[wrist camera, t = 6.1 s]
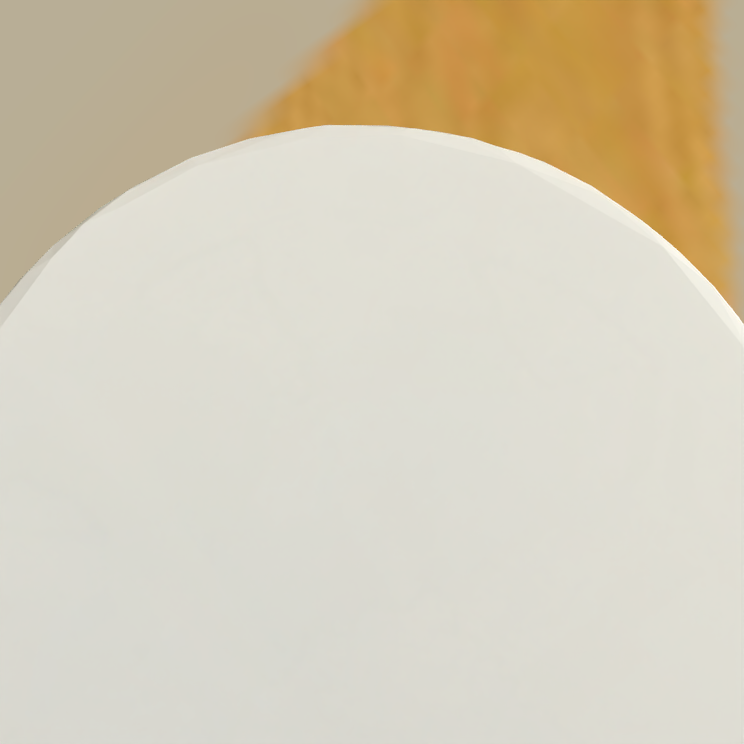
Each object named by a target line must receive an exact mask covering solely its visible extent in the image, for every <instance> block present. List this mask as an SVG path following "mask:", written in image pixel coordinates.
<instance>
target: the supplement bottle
mask: <svg viewBox="0 0 744 744" xmlns="http://www.w3.org/2000/svg"><path fill="white" fill-rule="evenodd" d="M0 744H744V324H743V323H742V321H741V320H740V318H739V317H738V316H737V315H736V313H735V312H734V311H733V310H732V308H731V307H730V306H729V305H728V303H727V302H726V301H725V300H724V298H723V297H722V296H721V295H720V294H719V292H718V291H717V290H716V289H715V287H714V286H713V285H712V284H711V283H710V282H709V281H708V280H707V279H706V278H705V277H704V276H703V275H702V274H701V273H700V272H699V271H698V270H697V269H696V268H695V267H694V266H693V265H692V264H691V263H690V262H689V261H688V260H687V259H686V258H685V257H684V256H683V255H682V254H681V253H680V252H679V251H678V250H677V249H675V248H674V247H673V246H672V245H671V244H670V243H669V242H668V241H666V240H665V239H664V238H663V237H662V236H661V235H659V234H658V233H657V232H656V231H654V230H653V229H652V228H650V227H649V226H648V225H647V224H645V223H644V222H643V221H642V220H640V219H639V218H637V217H636V216H635V215H633V214H632V213H630V212H629V211H628V210H626V209H625V208H623V207H622V206H620V205H619V204H617V203H616V202H614V201H613V200H611V199H610V198H608V197H607V196H605V195H604V194H602V193H601V192H599V191H598V190H597V189H595V188H594V187H592V186H591V185H589V184H587V183H585V182H583V181H581V180H579V179H577V178H575V177H573V176H571V175H569V174H567V173H565V172H563V171H561V170H559V169H557V168H555V167H553V166H551V165H549V164H547V163H545V162H542V161H540V160H537V159H534V158H532V157H529V156H526V155H524V154H521V153H518V152H515V151H511V150H508V149H504V148H501V147H497V146H494V145H491V144H488V143H485V142H482V141H479V140H476V139H473V138H468V137H463V136H458V135H452V134H447V133H442V132H436V131H429V130H421V129H413V128H404V127H394V126H366V125H324V126H317V127H310V128H304V129H298V130H293V131H288V132H282V133H277V134H272V135H267V136H262V137H256V138H251V139H247V140H244V141H241V142H238V143H235V144H232V145H229V146H226V147H223V148H220V149H217V150H214V151H211V152H208V153H205V154H201V155H198V156H196V157H192V158H190V159H188V160H186V161H184V162H182V163H180V164H178V165H176V166H174V167H172V168H170V169H168V170H166V171H164V172H162V173H160V174H158V175H156V176H154V177H152V178H150V179H148V180H146V181H144V182H142V183H140V184H138V185H136V186H134V187H133V188H131V189H129V190H128V191H126V192H124V193H123V194H121V195H120V196H118V197H116V198H115V199H113V200H112V201H110V202H109V203H107V204H105V205H104V206H102V207H101V208H99V209H98V210H97V211H95V212H94V213H93V214H92V215H90V216H89V217H88V218H87V219H85V220H84V221H83V222H82V223H80V224H79V225H78V226H77V227H75V228H74V229H73V230H72V231H70V232H69V233H68V234H67V235H65V236H64V237H63V238H62V239H61V240H59V241H58V242H57V243H56V244H54V245H53V246H52V247H51V248H50V249H49V251H47V252H46V253H45V254H44V255H43V256H42V258H40V260H39V261H37V262H36V263H35V265H34V266H33V267H32V268H31V269H30V270H29V271H28V272H27V273H26V274H25V275H24V276H23V277H22V278H21V279H20V280H19V281H18V283H17V284H16V285H15V286H14V288H13V289H12V290H11V291H10V293H9V294H8V295H7V296H6V298H5V299H4V300H3V301H2V303H1V304H0Z"/></svg>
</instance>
